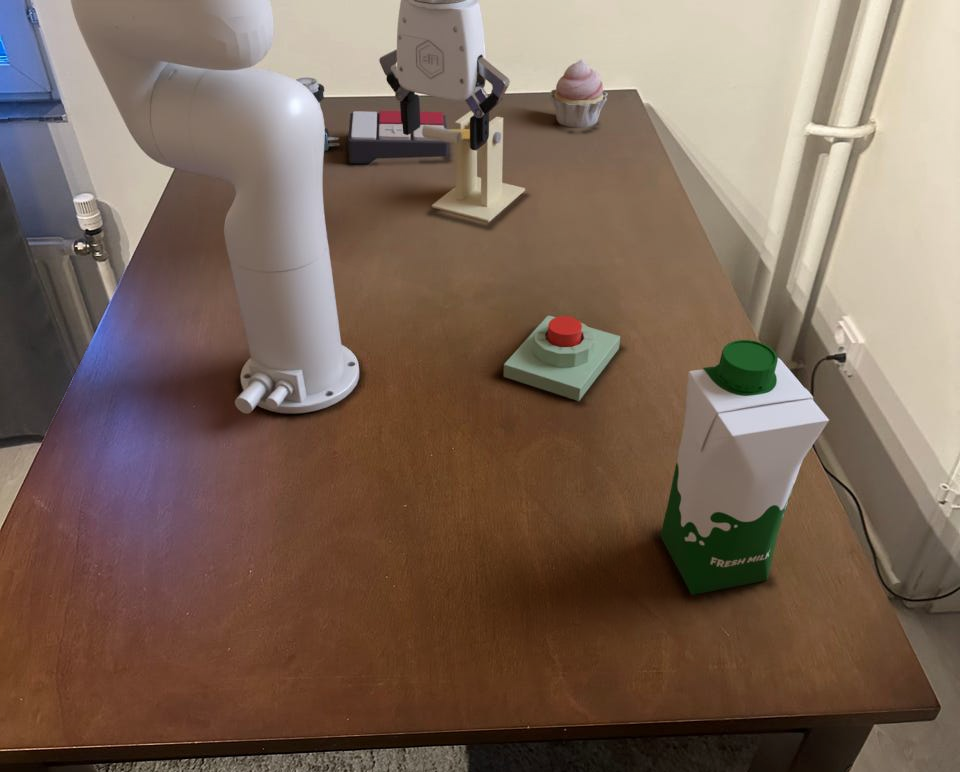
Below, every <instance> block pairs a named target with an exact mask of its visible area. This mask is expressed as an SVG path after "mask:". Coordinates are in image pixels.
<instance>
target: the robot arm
mask: <svg viewBox="0 0 960 772" xmlns="http://www.w3.org/2000/svg"><path fill="white" fill-rule="evenodd" d="M70 3H71V8H72V13H73V15H74V19H75V21H76V24H77V26H78V29H79V31H80V34H81V36H82V38H83V40H84V43H85V45H86V47H87V49H88V51H89V53H90V56H91V57H92V59H93V61H94V63H95V66H96V67H97V70H98V72H99V74H100V76H101V78H102V80H103V82H104V84H105V86H106V88H107V90H108V92H109V94H110V97H111V98H112V100H113V102H114V104H115V106H116V108H117V110H118V113H119V114H120V116H121V119H122V120H123V123H124V124H125V126H126V128H127V130H128V132H129V134H130V135H131V137H132V138H133V140H134V141H135V143H136V144H137V146H138V147H139V148H140V150H141V151H142V152H143V153H144V154H145V155H146V156H147V157H148V158H150V159H151V160H153V161H154V162H156V163H158V164H160V165H162V166H165V167H168V168H170V169H175V170H179V171H183V172H186V173H191V174H196V175H201V176H206V177H211V178H214V179H217V180H221V181H225V182H228V183H229V184H231V185H232V186H233V187H234V189H235V196H234V199H233V202H232V204H231V205H230V207H229V210H228V211H227V213H226V216H225V220H224V225H223V236H224V242H225V248H226V251H227V256H228V259H229V264H230V269H231V273H232V278H233V283H234V288H235V291H236V296H237V297H236V298H237V301H238V305H239V311H240V314H241V319H242V324H243V329H244V332H245V337H246V342H247V348H248V351H249V356H250V357H249V358H248V360H247V361H246V362H244V365H243V367H242V368H241V372H240V376H239V377H240V384H241V389H242V391H241V393H240V394H239V395H238V396H237V397H236V398H235V400H234V404H235V407H236V408H237V410H238V411H240V412H241V413H242V414H246V415H247V414H251V413H252V411H253V410H254V409H255V408H256V407H257V406H258V407H259V408H262V409H264V410H267V411H270V412H274V413H279V414H293V415H294V414H295V415H296V414H306V413H312V412H316V411H321V410H323V409H327V408H329V407H331V406H333V405H335V404H337V403H339V402H340V401H342V400H343V399H345V398H347V396H349V395H350V394H351V393H353V390H354V389H355V388H356V386H357V385H358V382H359V379H360V366H359V361H358V358H357V356H356V355H355V354H354V353H353V351H351V350H350V348H348V347H346V346H345V345H343V344H342V340H341V339H342V338H341V330H340V321H339V315H338V309H337V308H338V307H337V301H336V300H337V299H336V293H335V284H334V277H333V269H332V261H331V254H330V245H329V241H328V231H327V226H326V225H327V224H326V218H325V217H326V216H325V206H324V205H325V204H324V190H323V188H324V187H323V186H324V185H323V183H324V182H323V179H324V178H323V175H324V174H323V173H324V157H325V151H324V142H325V128H326V126H325V118H324V114H323V110H322V108H321V104H320V105H319V103H318V101H317V99H316V98H315V96H314V95H313V94H312V93H311V91H310V90H309V89H308V88H307V87H305V86H304V85H303V84H301V83H300V82H298V81H297V80H296V79H295V78H293V77H291V76H289V75H286V74H283V73H281V72H278V71H273V70H270V69H266V68H259V67H254V66H255V65H257V64H259V63H260V62H262V61H263V60H264V59H265V57H266V56H267V54H268V53H269V51H270V50H271V48H272V45H273V40H274V34H275V23H274V13H273V7H272V2H271V0H70ZM396 32H397V33H396V49H394V50H392V51H390V52H388V53H386V54H384V55H382V56H381V57H380V58H379V59H378V60H379V61H378V62H379V64H380V68H381V69H382V71H383V73H384V75H385V76H386V79H385V80H386V82H387V84H388V85H389V86H390V88H391V89H392V91H393V92H394V97H395V99H396V100H397V101H398V102H399V108H400V109H399V110H400V111H401V122H402V124H403V134H405V135H409V134H411V133H412V132H414V131H415V130H417V129H418V128H420V125H421V124H420V112H421V107H420V106H421V105H420V97H419V95H420V94H421V95H425V96H429V97H435V98H440V99H445V100H450V101H455V102H463V101H465V102H466V104H467V105H468V107H469V109H470V111H472V112H473V113H474V115H473V116H472V117H471V118H470V148H471V150H475V151H476V150H477V151H478V150H479V149H481V146H483V145H484V144H485V143H486V142H487V140H488V138H489V122H490V112H492V110H493V109H494V108H495V107H496V106H498V104H499V103H501V102H502V100H503V98H504V95H505V94H506V92H507V89H508V88H509V85H510V81H511V80H510V79H509V77H508V76H506V75H505V74H504V73H503V72H502V71H500V70H499V69H498V68H496V67H495V66H494V65H493V64H492V63H490V61H488V60H487V53H486V40H485V39H486V37H485V29H484V20H483V15H482V10H481V5H480V2H479V0H400V3H399V9H398V19H397V30H396ZM486 81H487V82H488V83H489V84H491V87H492V88H491V92H490V94H488V92H487V91H486V90H485V86H486ZM324 126H325V127H324Z"/></svg>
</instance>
